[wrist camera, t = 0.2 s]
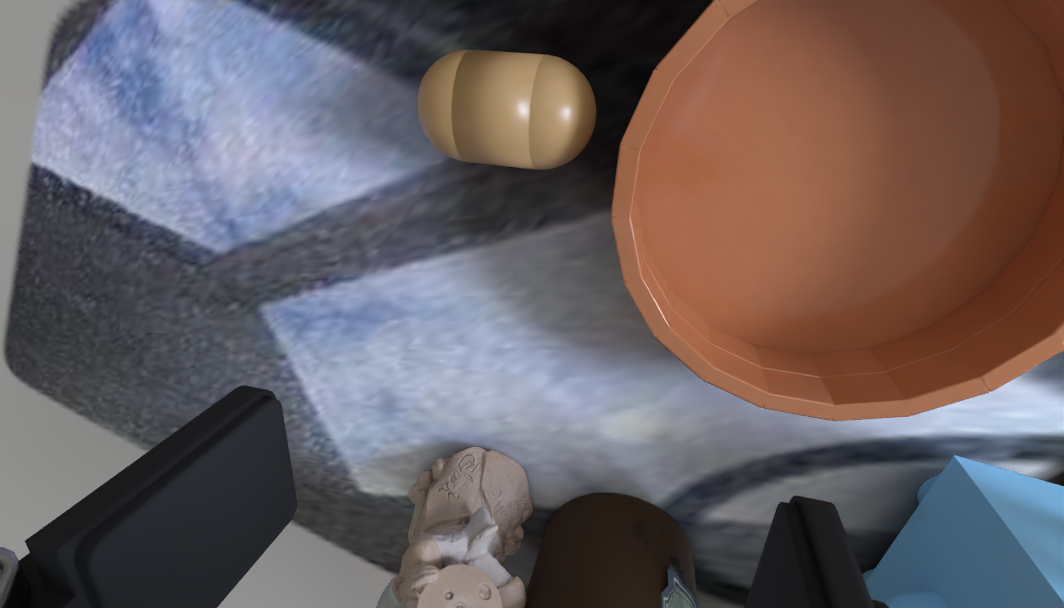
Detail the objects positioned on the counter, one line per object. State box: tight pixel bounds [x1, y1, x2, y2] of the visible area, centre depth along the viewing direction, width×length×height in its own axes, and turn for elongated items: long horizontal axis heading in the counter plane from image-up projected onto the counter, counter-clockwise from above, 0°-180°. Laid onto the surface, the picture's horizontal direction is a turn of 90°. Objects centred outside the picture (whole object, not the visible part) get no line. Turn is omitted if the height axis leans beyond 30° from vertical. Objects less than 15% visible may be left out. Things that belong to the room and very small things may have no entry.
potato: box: [417, 50, 596, 170], centre depth 23 cm, size 8×5×5 cm, turn 87°
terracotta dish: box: [611, 0, 1064, 421], centre depth 21 cm, size 18×18×5 cm
